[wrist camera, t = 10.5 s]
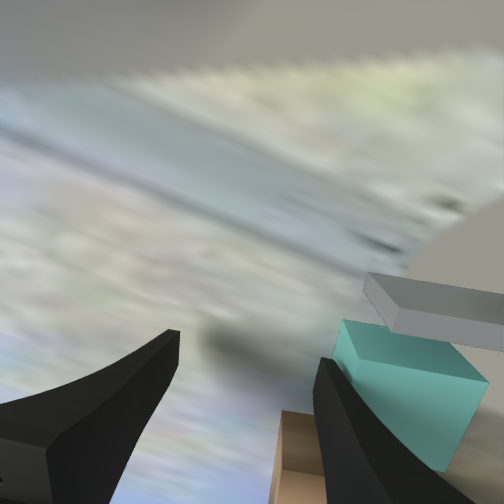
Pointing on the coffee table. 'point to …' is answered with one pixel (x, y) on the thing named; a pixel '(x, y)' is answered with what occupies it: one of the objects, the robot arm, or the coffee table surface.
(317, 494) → the brown wooden block
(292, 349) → the coffee table surface
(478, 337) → the frame
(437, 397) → the turquoise cube box
